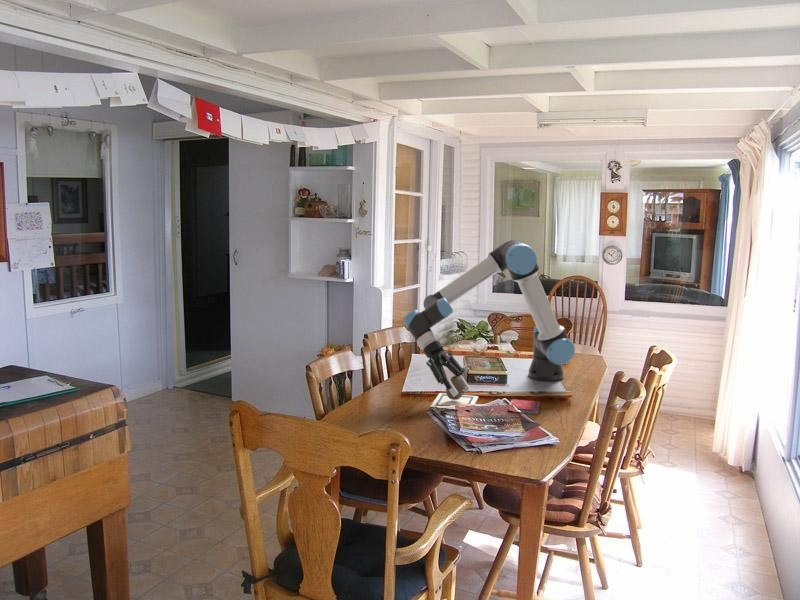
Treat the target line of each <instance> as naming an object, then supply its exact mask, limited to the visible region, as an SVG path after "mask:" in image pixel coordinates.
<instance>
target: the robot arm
mask: <svg viewBox="0 0 800 600" xmlns="http://www.w3.org/2000/svg"><path fill="white" fill-rule="evenodd" d="M537 260H538V259H537V254H536V252H535V249H533V248H532V247H531V246H530V245H528V244H526V243H523V242H521V241H519V240H507V241H505V242H503V243H502V244H501V245H499V246H498V247H496V248H494V249H493V250H492V251H490V252H489V253H488V254H487V256H486V258H484V259H483V260H481V261H480V262H479V263H477V264H476V265H474V266H473V267H471V268H470V269H469V270H467V271H466V272H464V273H463V274H461V275H460V276H459V277H457V278H455V279H454V280H453V281H451V282H449V283H448V284H446V285H445V286H444V287H442V288H441V289H439V290H438V291H436V292H435V293H433V294H428V295H427V296H425V298H424V299H423V308H424V310H422V311H421V312H420V311H419V310H418V309H415V310H414V309H413V310H412V311H410V312H408V313H407V314H406V315H405V316H404V317H403V318H404V319H403V323H404V324H405V326H406V327H407V329H408V331H409V333H410V334H411V335H412V337H413V339H415V341H416V343H417V344H418V346H419V347H420V348H421V350H422V351H423V353H424V355H425V356H426V358H428V360H427V361H426V362H425V364H426V365H427V366H428V367H429V368H430V371H431V372H432V374H433V376H434V377H435V380H436V381H437V383H438V384H441V385H444V386H445V389H446V388H447V389H448V390H449V391H450V393H451V394H452V396H453V397H455V396H456V395H457V394H458V391H457V390H456V388H455V387H454V385H453V384H452V382H451V381H450V379H451V378H450V379H448V377H447V374H446V371H445V368H444V367H446V368H447V369H448V371H449V372H451V373H452V375H453V376H457V377H458V379H459V380H460V381H461V383H462V385H463V392H464V393H467V392H468V391H469V390H470V389H471V387H470V386H469V384H468V382H467V380H466V378H465V377H464V376H463V374H464V372H465V370H464V369H463V368H462V366H461V365H460V364H459V362H458V361H457V360H456V359H455V357H454V356H453V354H452V352H450V351H449V352H448V353H446V352H445V351H444V347H443V345H442V343H441V342H440V340H438V337H437V336H436V334H435V333H434V332H433V330H432V328H433V327H434V326H436V325H437V324H439V323H440V322H442V321H443V320H445V319H446V318H448V317H449V316H450V315H452V314H453V312H454V309H453V307H452V306H451V304H453V303H454V302H457V300H459V299H460V298H462V297H463V296H465V295H466V294H468V293H469V292H472V290H474V289H475V288H477V287H478V286H479V285H481V284H482V283H484V282H486V281H487V280H488V279H490V278H491V277H492V276H494V275H496V274H498V273H499V274H500V273H503V272H504V271H506V270H507V271H508V273H509V275H510V278H511V280H512V282H516V283H517V284H518V287H519V289H520V292H521V294H522V296H523V298H524V300H525V303H526V305H527V307H528V310H529V312H530V315H531V317H532V319H533V322H534V324H535V326H534V327H533V332H532V333H533V350H532V351H533V353H532V360H531V363H530V366H529V368H528V376H529V377H530V378H531V379H534V380H538V381H544V382H555V381H559V380H562V379H563V378H564V375H565V372H564V368H563V365H565V364H567V363H569V362H570V361H571V360H572V359H573V357H574V355H575V352H576V349H575V348H576V347H575V345H574V342H573V341H572V340H571V339H570V338H569V337H568V334H567V331H566V329H565V326H563V325H561V324H559V322H558V320H557V317H556V315H555V313H554V310H553V308H552V306H551V304H550V301H549V299H548V296H547V294H546V292H545V289H544V286H543V285H542V282H541V280H540V277H539V275H538V274H539V271H540V267H539V265H538V263H537Z"/></svg>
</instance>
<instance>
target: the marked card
mask: <svg viewBox="0 0 800 600" xmlns="http://www.w3.org/2000/svg"><path fill="white" fill-rule="evenodd" d="M478 399H479V396H477V395H470V394H469V395H467V394H463V395H462V397H461V398H460V399H458V400H452V399H450V398H449V397H448V396H447V394H446V392H445V393H444V392H439V394H438V395H437V396H436V398H435V399H434V400H433V401H432V404H431V405H430V406H429V408H430V407H435V406H450V405H460V404H475V405H476V403H477V402H478Z"/></svg>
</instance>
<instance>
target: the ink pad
mask: <svg viewBox="0 0 800 600" xmlns="http://www.w3.org/2000/svg"><path fill="white" fill-rule="evenodd" d="M510 403H511V404H512V405H514V406H515V407H516V408H517V409H518V410H520V411H521V412H523V413H522V414H528V415H529V414H530V415H538V414H539V413H538V412H539V409H540V404H541V403H540V401H535V400H526V399H516V398H515V399H511V400H510Z"/></svg>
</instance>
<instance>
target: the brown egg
mask: <svg viewBox="0 0 800 600" xmlns="http://www.w3.org/2000/svg"><path fill="white" fill-rule="evenodd" d="M450 381H451V382H452V384H453V385H454V387H455V388H456V390H457V391H458V394H457V395H456V396H455V397H453V396H452V394H451V393H450V391H449V390H448V389H447V388H446V387H445V393H446V394H447V396H448V397H449V398H450V399H452V400H458V399H460V398H461V397H462V395H464V390H463V385H462V383H461V381H460V380H459V379H458V377H457V376H455V375H453V376H451V378H450Z"/></svg>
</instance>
